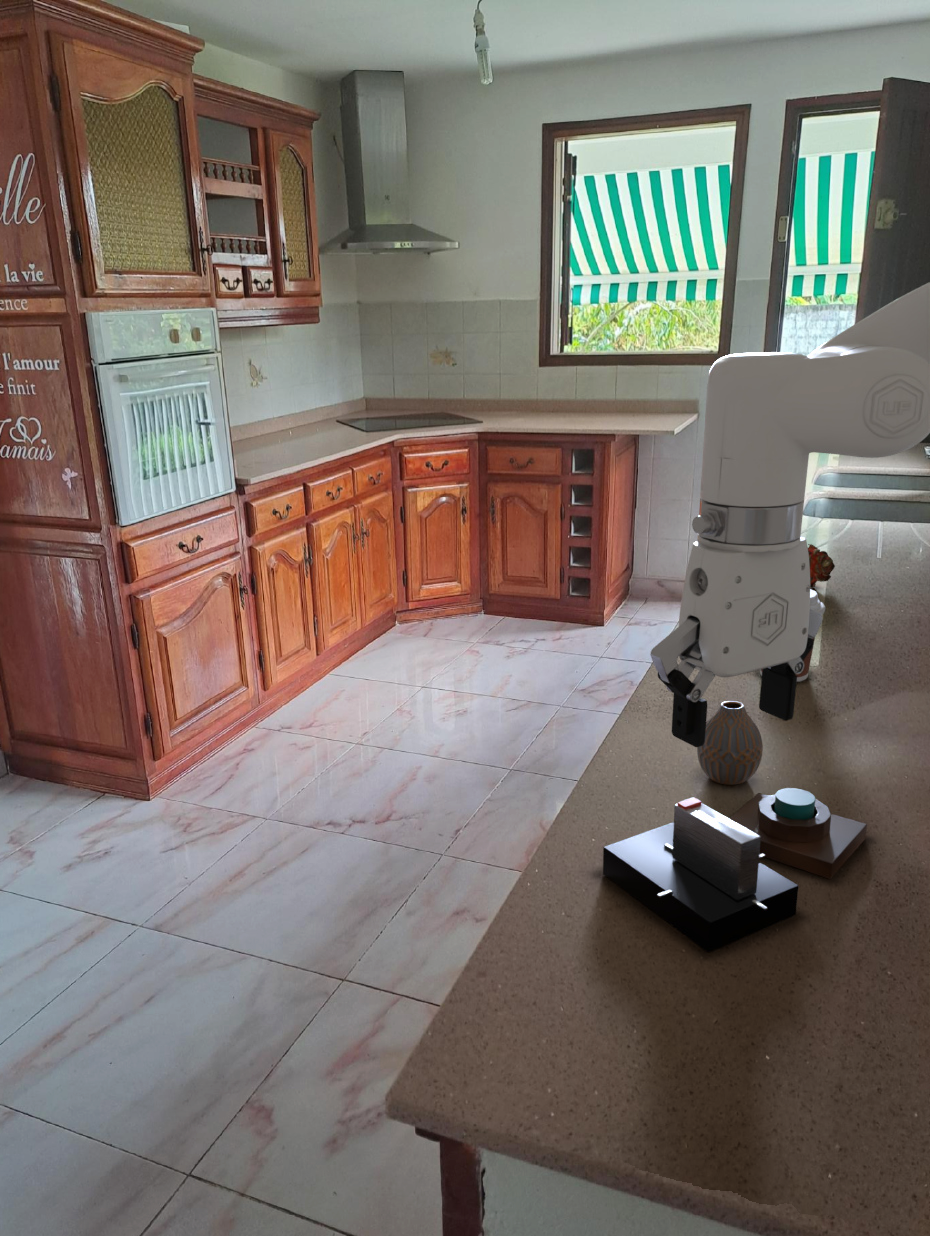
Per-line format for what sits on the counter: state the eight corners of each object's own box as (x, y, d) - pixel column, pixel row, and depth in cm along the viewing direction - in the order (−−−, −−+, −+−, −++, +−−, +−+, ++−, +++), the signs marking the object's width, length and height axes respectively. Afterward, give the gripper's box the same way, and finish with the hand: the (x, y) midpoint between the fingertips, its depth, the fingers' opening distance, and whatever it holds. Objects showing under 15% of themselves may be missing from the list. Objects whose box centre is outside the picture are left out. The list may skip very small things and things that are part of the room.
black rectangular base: (815, 917, 82) (818, 886, 81) (707, 965, 77) (709, 932, 76) (692, 841, 95) (694, 813, 94) (593, 877, 90) (593, 848, 89)
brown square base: (865, 839, 94) (869, 807, 92) (830, 879, 88) (834, 846, 86) (757, 806, 101) (759, 777, 100) (717, 842, 95) (719, 810, 93)
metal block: (756, 893, 81) (761, 833, 79) (737, 901, 80) (741, 841, 78) (690, 851, 88) (693, 795, 86) (671, 858, 87) (674, 802, 85)
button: (819, 810, 93) (821, 794, 92) (804, 825, 91) (806, 809, 90) (783, 800, 95) (784, 784, 95) (768, 814, 93) (769, 798, 92)
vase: (721, 758, 112) (726, 688, 109) (773, 778, 107) (779, 705, 103) (682, 776, 108) (686, 704, 105) (734, 797, 103) (739, 722, 100)
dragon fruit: (837, 598, 173) (767, 603, 178) (837, 562, 177) (769, 568, 183) (833, 568, 167) (761, 574, 172) (833, 531, 171) (763, 538, 177)
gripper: (697, 547, 66) (683, 769, 72) (868, 516, 74) (843, 720, 80) (628, 529, 73) (620, 735, 79) (792, 502, 80) (773, 692, 86)
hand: (732, 727), depth 79 cm, fingers open, 9 cm apart
